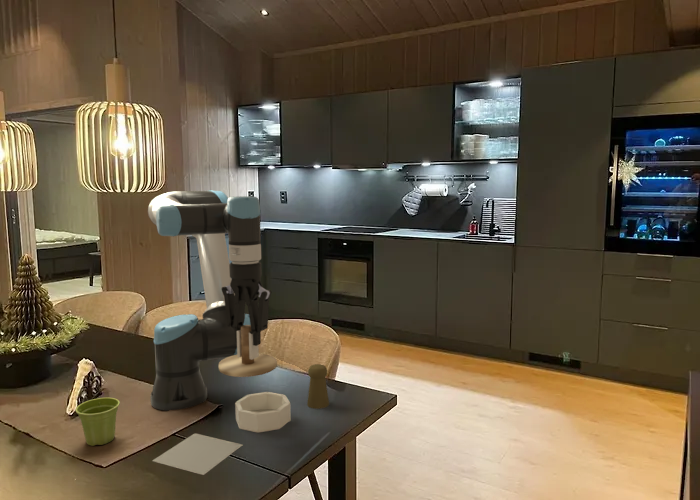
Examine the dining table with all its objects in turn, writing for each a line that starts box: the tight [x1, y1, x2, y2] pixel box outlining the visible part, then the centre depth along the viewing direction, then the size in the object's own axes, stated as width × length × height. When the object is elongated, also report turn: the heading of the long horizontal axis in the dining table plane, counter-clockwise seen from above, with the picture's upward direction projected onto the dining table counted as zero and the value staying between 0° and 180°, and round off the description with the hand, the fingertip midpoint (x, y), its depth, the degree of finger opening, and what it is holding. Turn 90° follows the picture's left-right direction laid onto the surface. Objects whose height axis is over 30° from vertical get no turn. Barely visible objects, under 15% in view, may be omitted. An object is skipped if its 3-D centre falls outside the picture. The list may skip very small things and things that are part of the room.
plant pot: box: [75, 397, 121, 446], centre depth 128 cm, size 9×9×9 cm
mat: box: [152, 432, 243, 476], centre depth 121 cm, size 14×14×1 cm
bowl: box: [234, 391, 292, 433], centre depth 137 cm, size 13×13×5 cm
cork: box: [306, 363, 330, 410], centre depth 147 cm, size 6×6×11 cm
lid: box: [218, 325, 278, 378], centre depth 131 cm, size 14×14×10 cm
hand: (248, 356), depth 132 cm, fingers closed on lid, 3 cm apart
